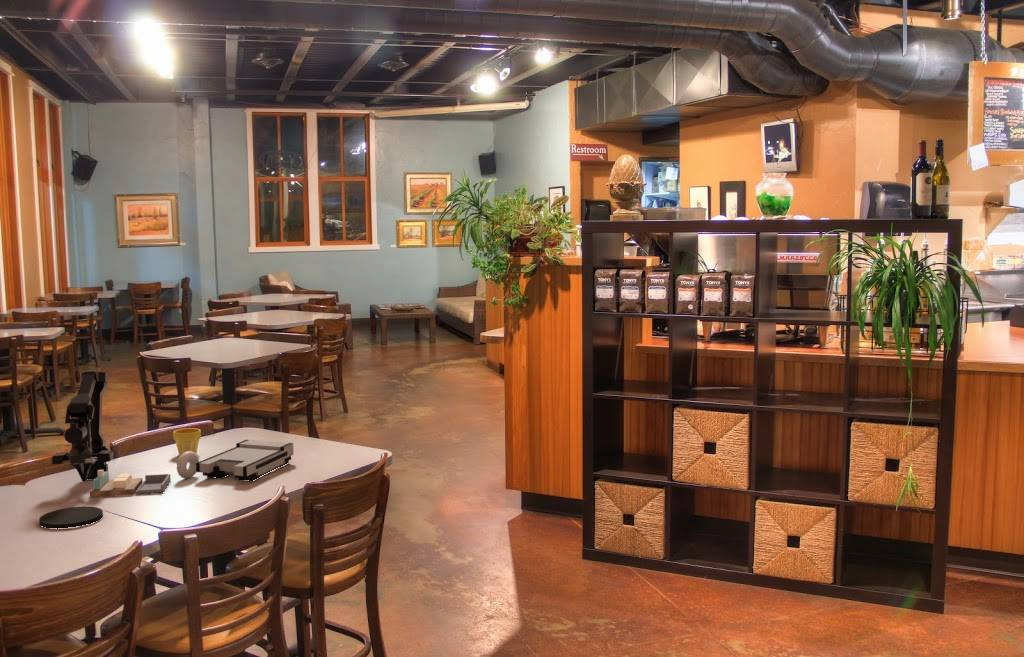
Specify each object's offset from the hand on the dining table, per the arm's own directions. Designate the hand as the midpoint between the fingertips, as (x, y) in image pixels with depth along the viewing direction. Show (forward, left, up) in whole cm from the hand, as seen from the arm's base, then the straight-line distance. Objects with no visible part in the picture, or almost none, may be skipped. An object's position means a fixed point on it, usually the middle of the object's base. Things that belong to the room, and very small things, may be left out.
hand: (84, 481), depth 311 cm
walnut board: (+11, 0, -4) cm, 11 cm away
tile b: (+13, +2, -2) cm, 13 cm away
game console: (+53, +16, -4) cm, 55 cm away
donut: (+33, +11, -4) cm, 35 cm away
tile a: (+13, -3, -2) cm, 13 cm away
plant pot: (+27, +48, -4) cm, 55 cm away
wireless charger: (+5, -32, -4) cm, 33 cm away
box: (+23, 0, -4) cm, 23 cm away
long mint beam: (+5, 0, -1) cm, 6 cm away
